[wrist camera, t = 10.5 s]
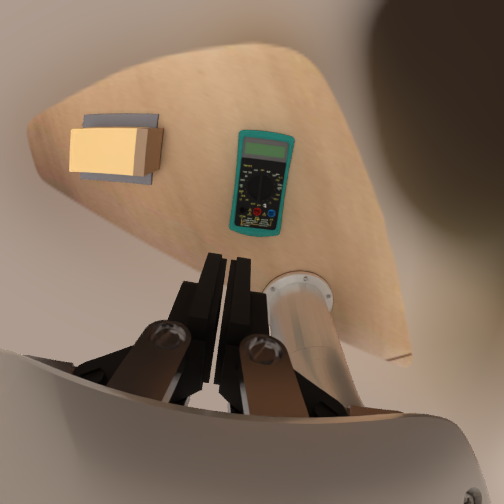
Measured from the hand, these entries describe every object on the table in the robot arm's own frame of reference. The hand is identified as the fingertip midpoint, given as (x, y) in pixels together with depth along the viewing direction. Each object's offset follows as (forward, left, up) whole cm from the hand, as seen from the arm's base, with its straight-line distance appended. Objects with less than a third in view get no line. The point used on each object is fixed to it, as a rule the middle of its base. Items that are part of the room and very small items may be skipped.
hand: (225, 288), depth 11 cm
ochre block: (+2, +12, -26) cm, 29 cm away
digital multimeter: (-1, -2, -30) cm, 30 cm away
